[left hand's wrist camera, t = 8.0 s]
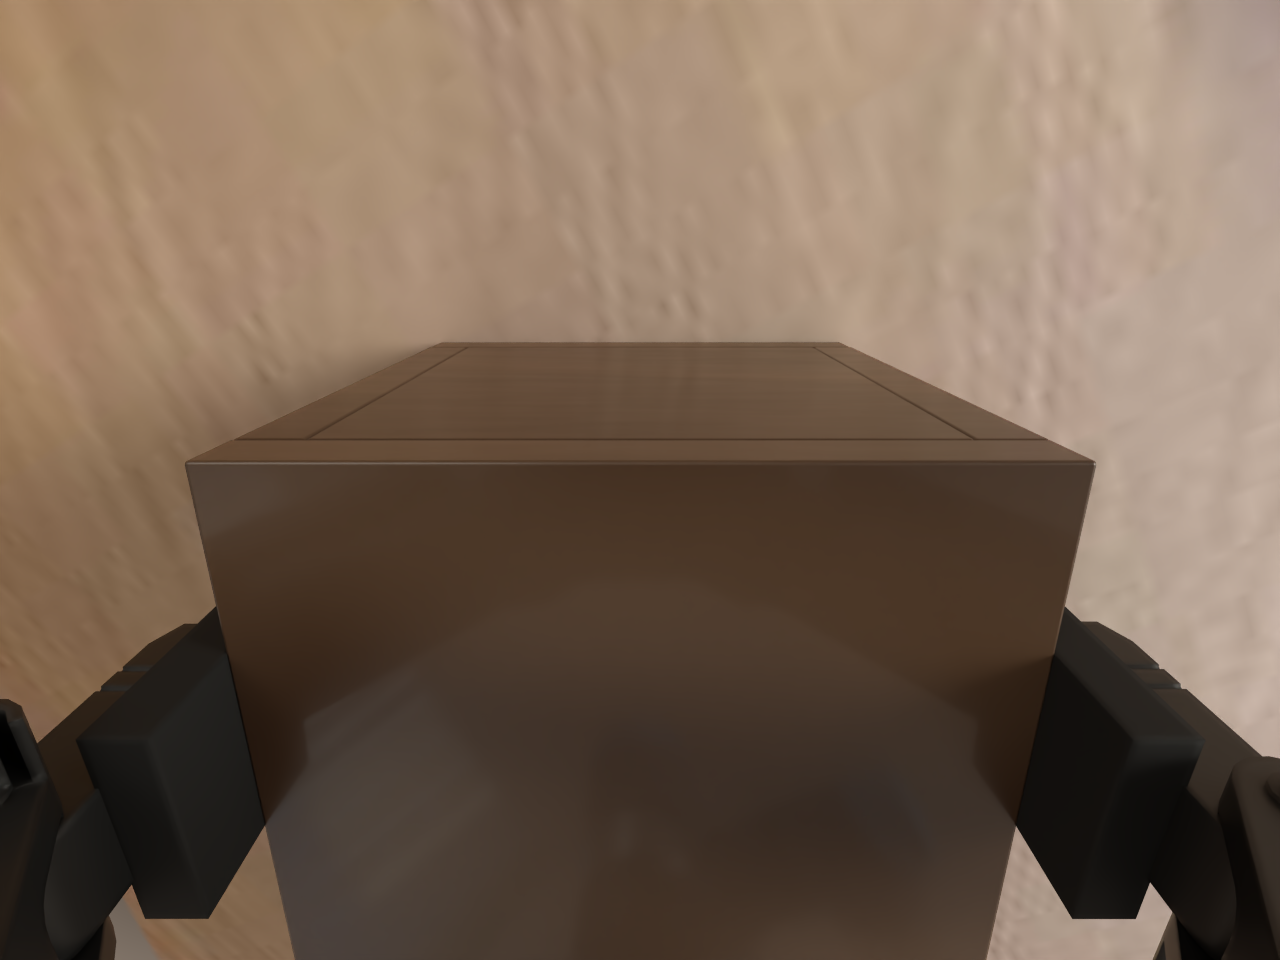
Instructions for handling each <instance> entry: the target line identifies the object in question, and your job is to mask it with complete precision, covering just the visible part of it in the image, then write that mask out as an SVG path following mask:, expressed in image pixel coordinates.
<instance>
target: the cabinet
mask: <svg viewBox="0 0 1280 960" xmlns="http://www.w3.org/2000/svg"><path fill="white" fill-rule="evenodd" d="M185 467H186V472H187V476H188V481H189V485H190V490H191V494H192V499H193V503H194V508H195V512H196V517H197V521H198V526H199V530H200V535H201V539H202V544H203V548H204V553H205V557H206V562H207V566H208V571H209V575H210V580H211V584H212V589H213V593H214V598H215V602H216V607H217V611H218V616H219V620H220V625H221V629H222V634H223V638H224V643H225V647H226V651H227V656H228V660H229V665H230V669H231V674H232V678H233V683H234V687H235V692H236V696H237V701H238V705H239V710H240V714H241V719H242V723H243V728H244V732H245V737H246V741H247V746H248V750H249V755H250V759H251V764H252V768H253V773H254V777H255V782H256V786H257V791H258V795H259V800H260V804H261V809H262V813H263V818H264V822H265V827H266V831H267V836H268V840H269V845H270V849H271V854H272V858H273V863H274V867H275V872H276V876H277V881H278V885H279V890H280V894H281V899H282V903H283V908H284V912H285V917H286V921H287V926H288V930H289V935H290V939H291V944H292V948H293V953H294V957H295V960H986V958H987V954H988V949H989V945H990V940H991V936H992V931H993V927H994V922H995V918H996V913H997V909H998V904H999V900H1000V895H1001V891H1002V886H1003V882H1004V877H1005V873H1006V868H1007V864H1008V859H1009V855H1010V850H1011V846H1012V841H1013V837H1014V832H1015V828H1016V823H1017V819H1018V814H1019V810H1020V805H1021V801H1022V796H1023V792H1024V787H1025V783H1026V778H1027V774H1028V769H1029V765H1030V760H1031V756H1032V751H1033V747H1034V742H1035V738H1036V733H1037V729H1038V724H1039V720H1040V715H1041V711H1042V706H1043V702H1044V697H1045V693H1046V688H1047V684H1048V679H1049V675H1050V670H1051V666H1052V661H1053V657H1054V652H1055V648H1056V643H1057V639H1058V634H1059V630H1060V625H1061V621H1062V616H1063V612H1064V607H1065V603H1066V598H1067V594H1068V589H1069V585H1070V580H1071V576H1072V571H1073V567H1074V562H1075V558H1076V553H1077V549H1078V544H1079V540H1080V535H1081V531H1082V526H1083V522H1084V517H1085V513H1086V508H1087V504H1088V499H1089V495H1090V490H1091V486H1092V481H1093V477H1094V472H1095V468H1096V462H1095V461H1093V460H1091V459H1089V458H1087V457H1085V456H1082V455H1080V454H1078V453H1076V452H1074V451H1072V450H1070V449H1067V448H1065V447H1063V446H1061V445H1059V444H1057V443H1055V442H1052V441H1050V440H1048V439H1046V438H1044V437H1042V436H1040V435H1038V434H1036V433H1033V432H1031V431H1029V430H1027V429H1025V428H1023V427H1021V426H1018V425H1016V424H1014V423H1012V422H1010V421H1008V420H1006V419H1003V418H1001V417H999V416H997V415H995V414H993V413H991V412H988V411H986V410H984V409H982V408H980V407H978V406H976V405H973V404H971V403H969V402H967V401H965V400H963V399H961V398H958V397H956V396H954V395H952V394H950V393H948V392H946V391H943V390H941V389H939V388H937V387H935V386H933V385H931V384H928V383H926V382H924V381H922V380H920V379H918V378H916V377H913V376H911V375H909V374H907V373H905V372H903V371H901V370H898V369H896V368H894V367H892V366H890V365H888V364H886V363H883V362H881V361H879V360H877V359H875V358H873V357H871V356H868V355H866V354H864V353H862V352H860V351H858V350H856V349H853V348H851V347H848V346H846V345H844V344H841V343H440V344H438V345H436V346H433V347H431V348H428V349H426V350H424V351H422V352H420V353H418V354H416V355H414V356H411V357H409V358H407V359H405V360H403V361H401V362H399V363H397V364H394V365H392V366H390V367H388V368H386V369H384V370H382V371H379V372H377V373H375V374H373V375H371V376H369V377H367V378H365V379H362V380H360V381H358V382H356V383H354V384H352V385H350V386H347V387H345V388H343V389H341V390H339V391H337V392H335V393H333V394H330V395H328V396H326V397H324V398H322V399H320V400H318V401H315V402H313V403H311V404H309V405H307V406H305V407H303V408H301V409H298V410H296V411H294V412H292V413H290V414H288V415H286V416H284V417H281V418H279V419H277V420H275V421H273V422H271V423H269V424H266V425H264V426H262V427H260V428H258V429H256V430H254V431H252V432H249V433H247V434H245V435H243V436H241V437H239V438H237V439H235V440H231V441H229V442H227V443H225V444H223V445H220V446H218V447H216V448H214V449H212V450H210V451H208V452H205V453H203V454H201V455H199V456H197V457H195V458H193V459H190V460H188V461H186V463H185Z"/></svg>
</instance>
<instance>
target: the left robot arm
mask: <svg viewBox="0 0 1280 960" xmlns="http://www.w3.org/2000/svg"><path fill="white" fill-rule="evenodd" d="M264 826H265V822H264V818H263V813H262V809H261V804H260V800H259V795H258V791H257V786H256V782H255V777H254V773H253V768H252V764H251V759H250V755H249V750H248V746H247V741H246V737H245V732H244V728H243V723H242V719H241V714H240V710H239V705H238V701H237V696H236V692H235V687H234V683H233V678H232V674H231V669H230V665H229V660H228V656H227V651H226V647H225V643H224V638H223V634H222V629H221V625H220V620H219V616H218V611H217V607H215V608H214V609H213V610H212V611H211V612H209V613H208V614H207V615H206V616H205V617H204V618H203V619H202V620H201V621H200V622H199V623H198V624H183V625H182V626H180V627H178V628H176V629H174V630H173V631H171V632H169V633H167V634H165V635H164V636H162V637H160V638H158V639H156V640H155V641H153V642H151V643H149V644H148V645H147V646H146V647H145V648H144V649H142V650H141V651H140V652H139V653H138V654H137V655H136V656H135V657H134V658H132V659H131V660H130V661H129V662H128V663H127V664H126V665H125V666H123V671H122V672H117V673H116V674H115V675H113V676H112V677H111V678H110V679H109V680H108V681H107V682H106V683H104V684H103V685H102V686H101V691H96V692H94V693H93V694H92V695H91V696H90V697H89V698H88V699H87V700H85V701H84V702H83V703H82V704H81V705H80V706H79V707H78V708H77V709H75V710H74V711H73V712H72V713H71V714H70V715H69V716H68V717H66V718H65V719H64V720H63V721H62V722H61V723H60V724H59V725H58V726H56V727H55V728H54V729H53V730H52V731H51V732H50V733H49V734H47V735H46V736H45V737H44V738H43V739H42V740H41V741H40V742H39V743H36V740H35V738H34V735H33V733H32V731H31V728H30V726H29V723H28V721H27V719H26V716H25V714H24V711H23V709H22V707H21V706H20V705H18V704H16V703H14V702H12V701H11V700H9V699H0V960H114V958H115V948H116V937H115V933H114V927H113V924H112V922H111V920H110V917H109V914H110V913H111V911H112V910H113V909H114V907H115V906H116V905H117V903H118V902H119V901H120V899H121V898H122V897H123V895H124V894H125V893H126V891H127V890H128V889H129V887H130V886H131V885H132V886H133V889H134V891H135V894H136V896H137V899H138V902H139V904H140V907H141V909H142V912H143V914H144V917H145V919H209V917H210V915H211V914H212V912H213V910H214V909H215V907H216V905H217V904H218V902H219V900H220V899H221V897H222V895H223V894H224V892H225V890H226V889H227V887H228V885H229V884H230V882H231V880H232V879H233V877H234V875H235V874H236V872H237V871H238V869H239V867H240V866H241V864H242V862H243V861H244V859H245V857H246V856H247V854H248V852H249V851H250V849H251V847H252V846H253V844H254V842H255V841H256V839H257V837H258V836H259V834H260V832H261V831H262V829H263V827H264ZM1016 826H1017V828H1018V830H1019V831H1020V833H1021V835H1022V836H1023V838H1024V840H1025V841H1026V843H1027V844H1028V846H1029V848H1030V849H1031V851H1032V853H1033V854H1034V856H1035V858H1036V859H1037V861H1038V863H1039V864H1040V866H1041V868H1042V869H1043V871H1044V873H1045V874H1046V876H1047V878H1048V879H1049V881H1050V883H1051V884H1052V886H1053V888H1054V889H1055V891H1056V892H1057V894H1058V896H1059V897H1060V899H1061V901H1062V902H1063V904H1064V906H1065V907H1066V909H1067V911H1068V912H1069V914H1070V916H1071V917H1072V919H1136V917H1137V914H1138V912H1139V909H1140V907H1141V904H1142V902H1143V899H1144V896H1145V894H1146V891H1147V889H1148V886H1149V884H1150V883H1151V884H1152V885H1153V887H1154V888H1155V889H1156V890H1157V892H1158V893H1159V894H1160V896H1161V897H1162V898H1163V900H1164V901H1165V902H1166V904H1167V905H1168V906H1169V908H1170V909H1171V910H1172V915H1171V917H1170V920H1169V922H1168V924H1167V927H1166V929H1165V932H1164V934H1163V936H1162V939H1161V941H1160V944H1159V946H1158V948H1157V951H1156V953H1155V955H1154V958H1153V960H1280V759H1279V758H1274V757H1269V756H1266V757H1262V756H1261V755H1260V754H1259V753H1258V752H1257V751H1255V750H1254V749H1253V748H1252V747H1251V746H1250V745H1249V744H1248V743H1246V742H1245V741H1244V740H1243V739H1242V738H1241V737H1240V736H1239V735H1237V734H1236V733H1235V732H1234V731H1233V730H1232V729H1231V728H1230V727H1228V726H1227V725H1226V724H1225V723H1224V722H1223V721H1222V720H1221V719H1219V718H1218V717H1217V716H1216V715H1215V714H1214V713H1213V712H1212V711H1210V710H1209V709H1208V708H1207V707H1206V706H1205V705H1204V704H1203V703H1201V702H1200V701H1199V700H1198V699H1197V698H1196V697H1195V696H1194V695H1192V694H1191V693H1190V692H1189V691H1188V690H1187V689H1181V684H1180V683H1179V682H1178V681H1177V680H1176V679H1174V678H1173V677H1172V676H1171V675H1170V674H1169V673H1168V672H1167V671H1165V670H1164V669H1159V664H1157V663H1156V662H1155V661H1154V660H1153V659H1152V658H1151V657H1150V656H1148V655H1147V654H1146V653H1145V652H1144V651H1143V650H1142V649H1141V648H1139V647H1138V646H1137V645H1136V644H1135V643H1134V642H1133V641H1131V640H1129V639H1127V638H1126V637H1124V636H1122V635H1120V634H1118V633H1117V632H1115V631H1113V630H1111V629H1109V628H1108V627H1106V626H1104V625H1102V624H1100V623H1099V622H1081V621H1080V620H1079V619H1078V618H1077V617H1076V616H1074V615H1073V614H1072V613H1071V612H1070V611H1069V610H1068V609H1067V608H1066V607H1064V612H1063V616H1062V621H1061V625H1060V630H1059V634H1058V639H1057V643H1056V648H1055V652H1054V657H1053V661H1052V666H1051V670H1050V675H1049V679H1048V684H1047V688H1046V693H1045V697H1044V702H1043V706H1042V711H1041V715H1040V720H1039V724H1038V729H1037V733H1036V738H1035V742H1034V747H1033V751H1032V756H1031V760H1030V765H1029V769H1028V774H1027V778H1026V783H1025V787H1024V792H1023V796H1022V801H1021V805H1020V810H1019V814H1018V819H1017V823H1016Z"/></svg>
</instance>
